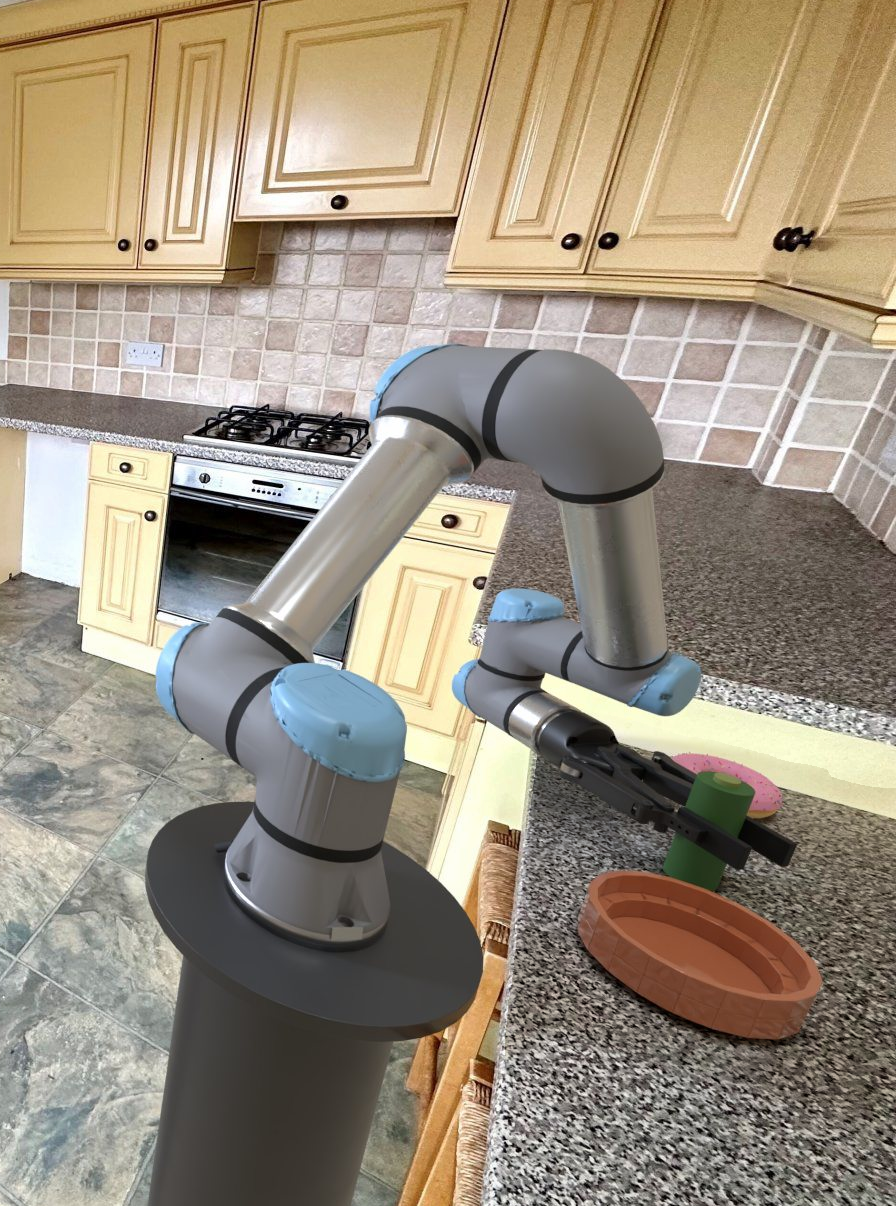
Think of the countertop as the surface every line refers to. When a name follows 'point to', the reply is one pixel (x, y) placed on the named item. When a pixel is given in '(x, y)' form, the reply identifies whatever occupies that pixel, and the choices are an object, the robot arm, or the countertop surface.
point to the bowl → (698, 954)
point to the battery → (723, 807)
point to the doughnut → (766, 790)
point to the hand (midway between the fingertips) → (766, 856)
